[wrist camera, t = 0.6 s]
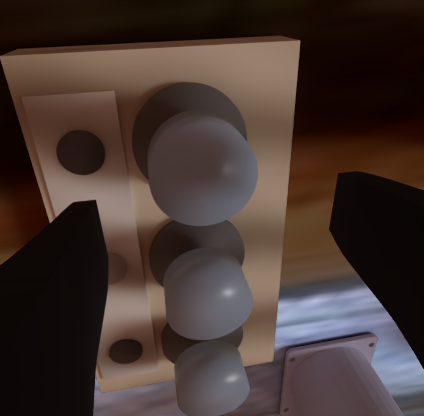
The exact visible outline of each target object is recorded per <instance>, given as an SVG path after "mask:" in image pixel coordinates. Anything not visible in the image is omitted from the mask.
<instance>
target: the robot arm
mask: <svg viewBox="0 0 424 416" xmlns="http://www.w3.org/2000/svg"><path fill="white" fill-rule="evenodd" d="M329 230H330V232H331V234H332V236H333V238H334V240H335V242H336V244H337V245H338V247H339V249H340V250H341V252H342V254H343V255H344V257H345V258H346V259H347V261H348V262H349V263H350V265H351V266H352V267H353V268H354V270H355V271H356V272H357V274H358V275H359V276H360V277H361V279H362V280H363V281H364V282H365V284H366V285H367V286H368V288H369V289H370V290H371V291H372V293H373V294H374V295H375V296H376V298H377V299H378V300H379V301H380V303H381V304H382V305H383V307H384V308H385V309H386V310H387V312H388V313H389V315H390V316H391V317H392V319H393V320H394V321H395V323H396V324H397V326H398V328H399V329H400V331H401V332H402V334H403V336H404V337H405V339H406V340H407V342H408V344H409V345H410V347H411V348H412V350H413V352H414V353H415V355H416V357H417V358H418V360H419V362H420V364H421V365H422V367H423V369H424V190H421V189H418V188H415V187H412V186H409V185H405V184H402V183H399V182H396V181H393V180H390V179H386V178H383V177H380V176H376V175H372V174H368V173H364V172H358V171H355V172H346V173H338V178H337V184H336V190H335V196H334V202H333V209H332V215H331V221H330V227H329ZM108 276H109V258H108V253H107V248H106V244H105V239H104V234H103V230H102V225H101V220H100V216H99V211H98V206H97V202H96V200H87V201H78V202H73V203H71V204H70V205H69V206H68V207H67V208H66V209H64V210H63V211H62V212H61V213H60V214H59V215H58V216H57V217H56V218H55V219H54V220H53V221H52V222H51V223H50V224H49V225H47V226H46V227H45V228H44V229H43V230H42V231H41V232H40V233H39V234H38V235H37V236H36V237H34V238H33V239H32V240H31V241H30V242H28V243H27V244H26V245H25V246H24V247H22V248H21V249H20V250H19V251H18V252H16V253H15V254H14V255H13V256H12V257H10V258H9V259H8V260H7V261H5V262H4V263H3V264H2V265H0V416H93V408H94V389H95V373H96V364H97V356H98V350H99V344H100V338H101V331H102V325H103V319H104V313H105V306H106V300H107V293H108ZM377 340H378V338H377V336H376V335H375V334H373V333H372V334H366V335H360V336H355V337H349V338H344V339H338V340H333V341H328V342H322V343H317V344H311V345H306V346H300V347H295V348H290V349H288V350H287V351H286V355H285V364H284V373H283V382H282V391H281V401H280V410H279V415H280V416H404V415H403V413H402V412H401V410H400V409H399V407H398V406H397V404H396V403H395V401H394V400H393V398H392V397H391V395H390V394H389V392H388V390H387V389H386V387H385V386H384V384H383V383H382V381H381V380H380V378H379V377H378V375H377V374H376V372H375V370H374V369H373V367H372V366H371V361H372V357H373V354H374V350H375V347H376V344H377Z"/></svg>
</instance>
